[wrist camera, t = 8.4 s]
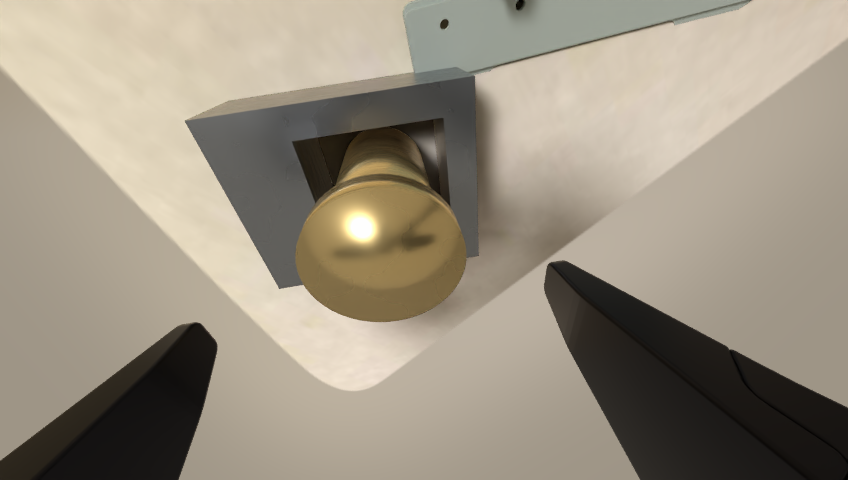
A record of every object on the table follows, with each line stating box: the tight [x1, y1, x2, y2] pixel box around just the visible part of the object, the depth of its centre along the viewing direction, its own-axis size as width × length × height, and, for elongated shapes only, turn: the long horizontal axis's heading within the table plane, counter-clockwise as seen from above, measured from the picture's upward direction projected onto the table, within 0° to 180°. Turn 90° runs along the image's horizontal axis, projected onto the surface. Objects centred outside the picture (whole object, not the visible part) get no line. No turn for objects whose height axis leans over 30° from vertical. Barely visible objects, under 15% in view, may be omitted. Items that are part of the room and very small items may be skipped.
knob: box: [295, 127, 466, 322], centre depth 12 cm, size 5×5×8 cm
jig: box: [185, 67, 479, 289], centre depth 14 cm, size 10×8×4 cm
